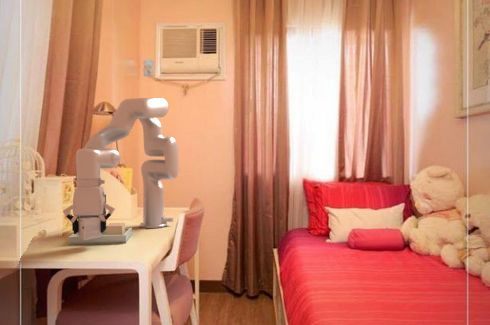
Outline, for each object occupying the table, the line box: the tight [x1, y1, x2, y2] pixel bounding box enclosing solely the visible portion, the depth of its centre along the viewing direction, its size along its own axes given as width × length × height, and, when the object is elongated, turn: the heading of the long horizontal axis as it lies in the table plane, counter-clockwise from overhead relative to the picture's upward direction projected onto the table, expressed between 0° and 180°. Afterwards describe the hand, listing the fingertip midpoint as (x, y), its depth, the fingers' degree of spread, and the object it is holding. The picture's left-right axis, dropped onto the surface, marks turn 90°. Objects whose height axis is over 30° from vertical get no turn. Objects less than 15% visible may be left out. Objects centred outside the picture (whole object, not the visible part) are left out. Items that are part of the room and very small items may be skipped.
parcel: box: [106, 222, 126, 235], centre depth 127 cm, size 6×6×5 cm
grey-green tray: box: [67, 227, 133, 246], centre depth 126 cm, size 20×14×3 cm
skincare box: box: [77, 216, 101, 240], centre depth 115 cm, size 6×6×7 cm
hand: (89, 232), depth 115 cm, fingers closed on skincare box, 8 cm apart
